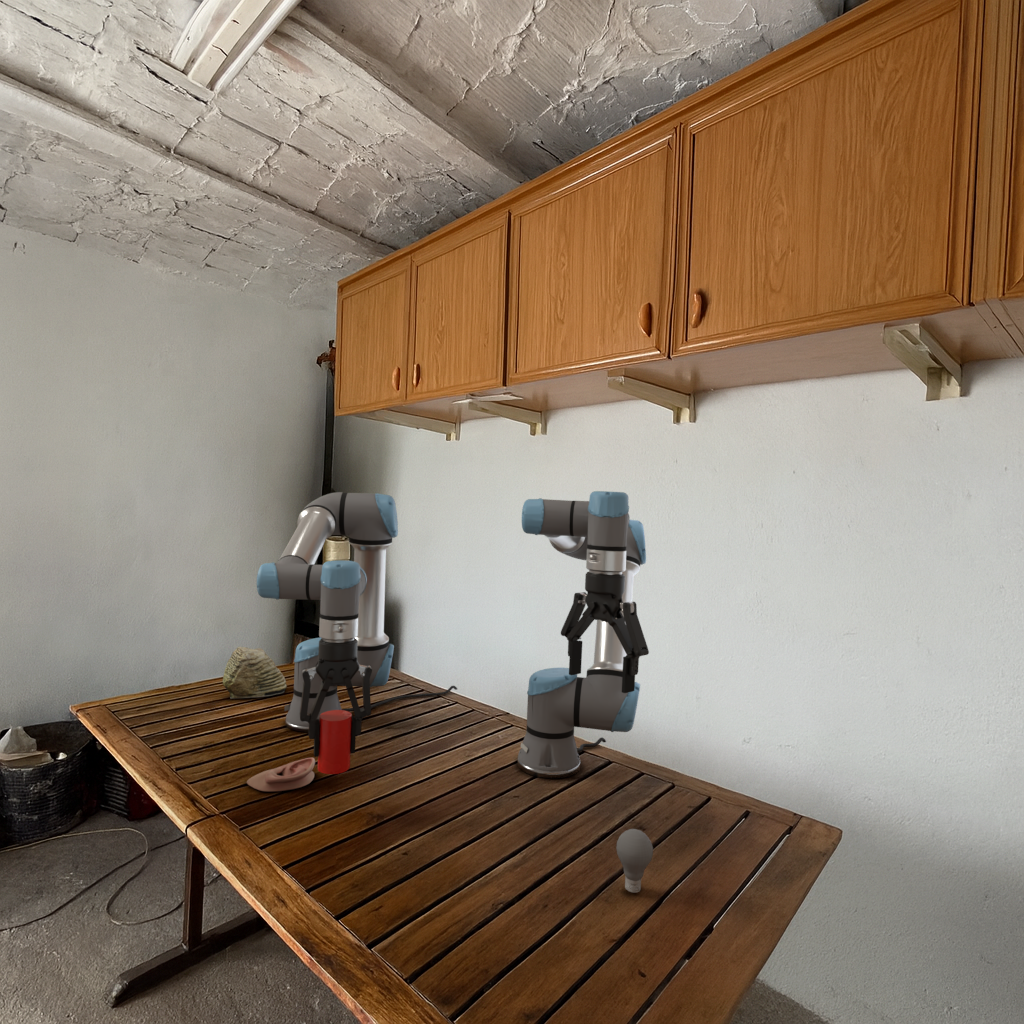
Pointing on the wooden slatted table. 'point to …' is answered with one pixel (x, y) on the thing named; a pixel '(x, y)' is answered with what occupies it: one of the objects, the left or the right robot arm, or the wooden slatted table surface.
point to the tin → (334, 741)
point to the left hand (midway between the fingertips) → (334, 751)
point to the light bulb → (634, 857)
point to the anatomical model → (284, 776)
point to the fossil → (252, 674)
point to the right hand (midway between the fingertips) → (600, 682)
